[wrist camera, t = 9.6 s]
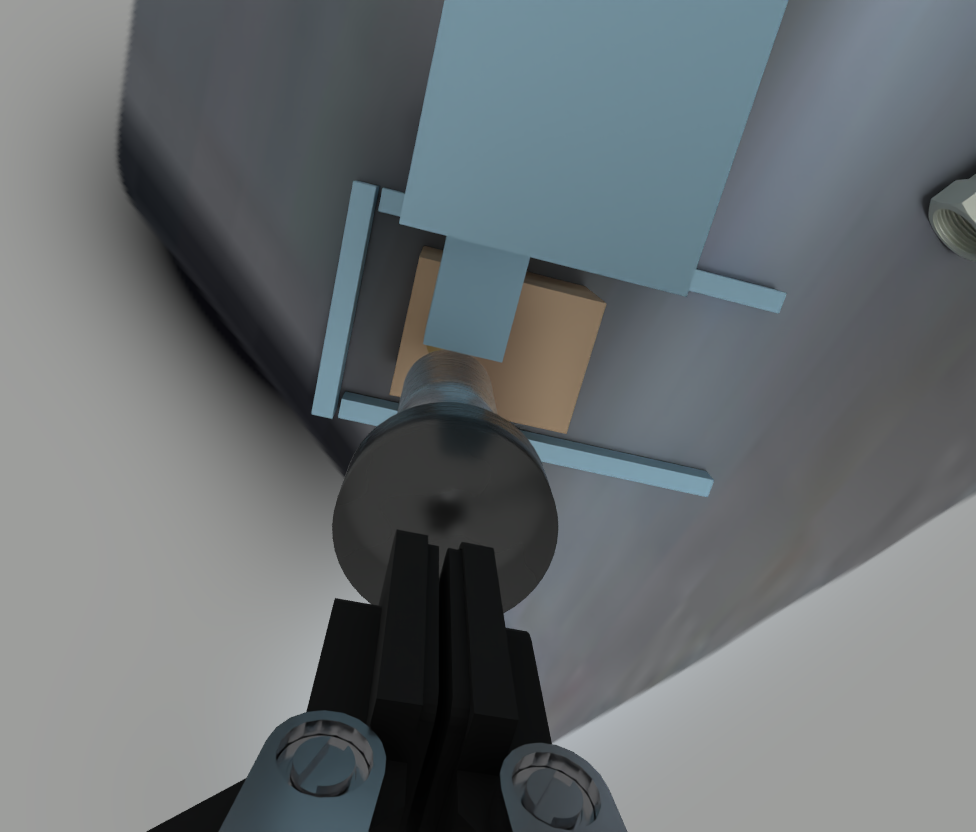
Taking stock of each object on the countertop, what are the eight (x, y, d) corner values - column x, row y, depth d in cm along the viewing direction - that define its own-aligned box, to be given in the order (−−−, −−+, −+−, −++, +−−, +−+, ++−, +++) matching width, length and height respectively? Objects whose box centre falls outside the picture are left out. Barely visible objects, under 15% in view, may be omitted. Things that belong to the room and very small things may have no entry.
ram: (531, 343, 23) (585, 455, 14) (496, 468, 24) (525, 644, 15) (394, 310, 22) (355, 404, 13) (366, 440, 24) (314, 606, 14)
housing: (584, 285, 34) (612, 308, 28) (550, 399, 35) (570, 443, 30) (423, 245, 33) (418, 260, 27) (397, 364, 34) (387, 403, 29)
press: (810, 196, 33) (1636, 245, 10) (699, 487, 37) (1085, 969, 15) (377, 74, 30) (149, -243, 7) (316, 404, 35) (66, 836, 12)
